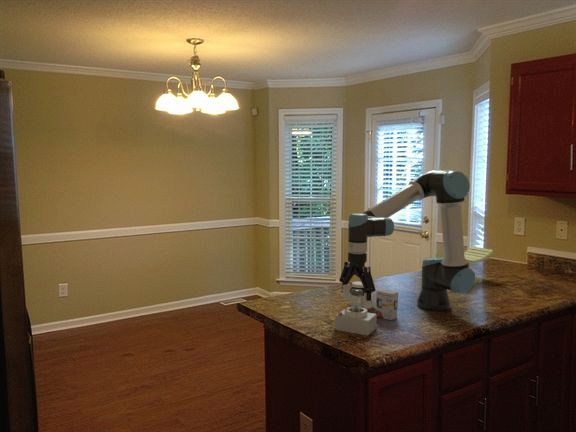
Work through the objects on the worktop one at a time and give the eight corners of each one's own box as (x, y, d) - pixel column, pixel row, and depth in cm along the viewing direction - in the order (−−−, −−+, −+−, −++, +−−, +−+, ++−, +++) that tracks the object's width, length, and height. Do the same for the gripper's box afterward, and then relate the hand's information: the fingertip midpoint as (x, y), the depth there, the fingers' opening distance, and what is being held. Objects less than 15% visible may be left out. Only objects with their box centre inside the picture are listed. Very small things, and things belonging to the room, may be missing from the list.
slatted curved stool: (468, 274, 299) (470, 245, 297) (491, 280, 286) (493, 249, 284) (434, 280, 283) (436, 250, 281) (457, 286, 270) (459, 254, 268)
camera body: (376, 328, 200) (376, 309, 199) (367, 335, 192) (368, 315, 191) (344, 322, 207) (344, 304, 206) (334, 329, 198) (335, 310, 198)
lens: (357, 312, 202) (357, 288, 201) (364, 315, 198) (365, 291, 197) (347, 313, 199) (348, 289, 198) (355, 317, 195) (355, 292, 194)
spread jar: (346, 305, 232) (346, 281, 231) (366, 302, 237) (367, 279, 236) (359, 312, 222) (360, 287, 220) (380, 309, 226) (381, 285, 225)
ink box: (374, 316, 215) (375, 290, 214) (380, 314, 219) (381, 288, 218) (392, 320, 210) (393, 294, 209) (397, 318, 214) (398, 291, 212)
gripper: (331, 248, 205) (330, 297, 207) (370, 258, 183) (368, 313, 186) (346, 246, 209) (345, 295, 211) (385, 256, 187) (384, 310, 189)
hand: (356, 304), depth 198 cm, fingers open, 13 cm apart
